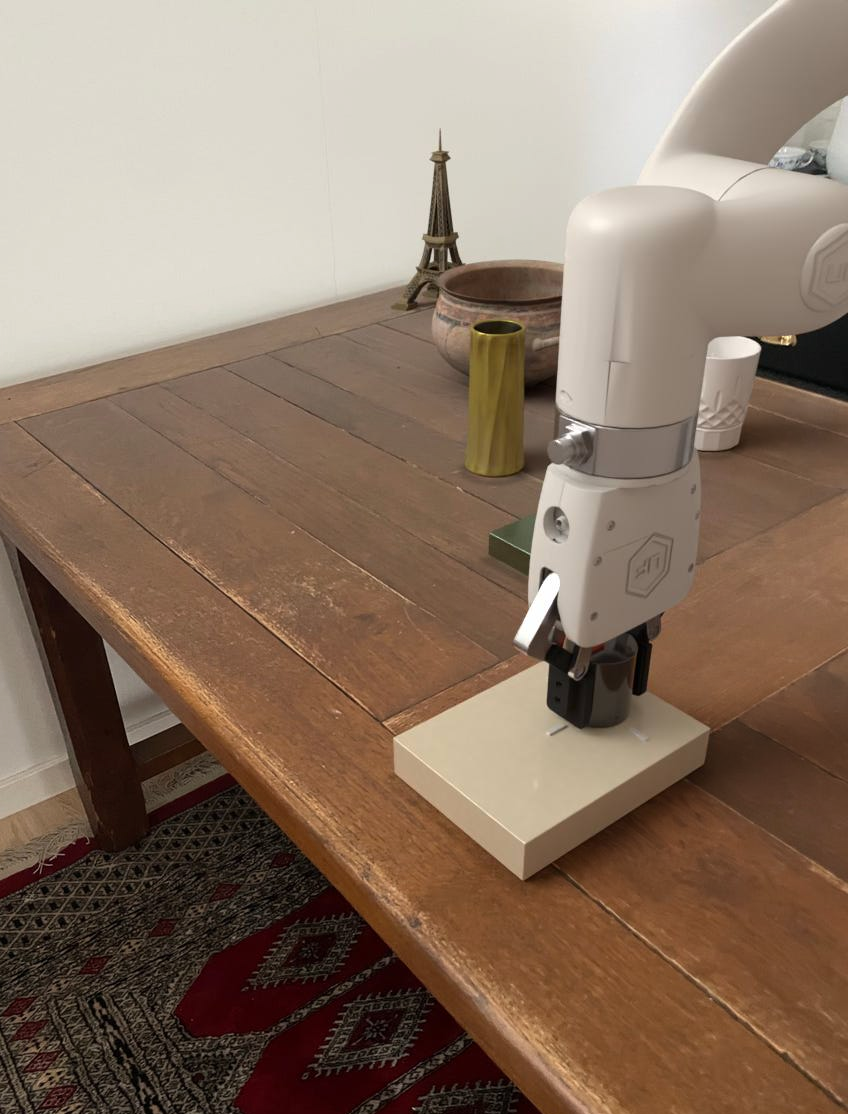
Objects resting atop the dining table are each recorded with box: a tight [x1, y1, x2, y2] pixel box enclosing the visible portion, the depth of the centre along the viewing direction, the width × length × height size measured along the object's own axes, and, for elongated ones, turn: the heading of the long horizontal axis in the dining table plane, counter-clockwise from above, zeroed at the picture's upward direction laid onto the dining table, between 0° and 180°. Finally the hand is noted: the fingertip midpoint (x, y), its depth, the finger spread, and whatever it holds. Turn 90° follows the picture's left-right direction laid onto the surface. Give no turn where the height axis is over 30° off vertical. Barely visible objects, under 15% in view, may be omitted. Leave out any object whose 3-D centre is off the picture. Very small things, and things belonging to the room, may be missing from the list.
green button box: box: [488, 512, 537, 577], centre depth 88 cm, size 12×9×4 cm
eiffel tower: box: [390, 129, 467, 312], centre depth 146 cm, size 11×11×25 cm
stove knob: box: [564, 632, 638, 728], centre depth 65 cm, size 4×4×5 cm
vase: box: [464, 319, 526, 478], centre depth 101 cm, size 6×6×14 cm
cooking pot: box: [431, 258, 564, 390], centre depth 122 cm, size 25×19×12 cm
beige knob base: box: [392, 661, 711, 882], centre depth 65 cm, size 16×12×3 cm
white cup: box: [694, 336, 762, 452], centre depth 105 cm, size 8×8×10 cm
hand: (596, 698), depth 66 cm, fingers closed on stove knob, 4 cm apart
